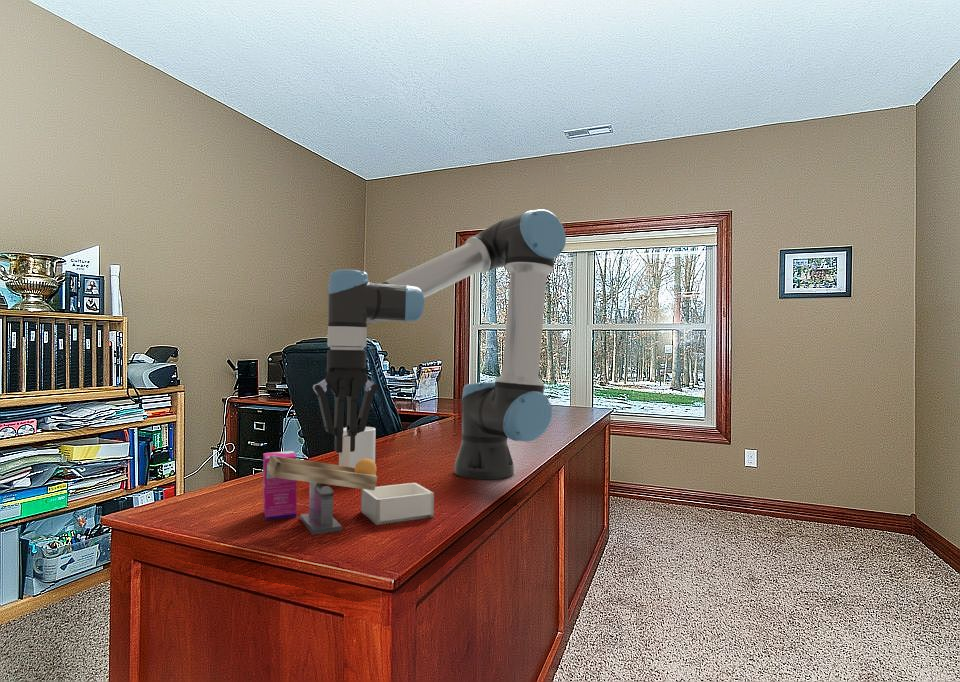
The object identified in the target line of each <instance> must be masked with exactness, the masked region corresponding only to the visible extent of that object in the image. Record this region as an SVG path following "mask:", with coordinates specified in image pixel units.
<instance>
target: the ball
mask: <svg viewBox="0 0 960 682" xmlns="http://www.w3.org/2000/svg"><path fill="white" fill-rule="evenodd" d="M355 473H361V474H368V475H376V474H377V464H376V461H375V462H374V461H373V460H371V459H368V458H364V459H361V460H359V461H358V462H357V464H356V466H355Z"/></svg>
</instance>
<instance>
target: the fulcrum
mask: <svg viewBox="0 0 960 682" xmlns="http://www.w3.org/2000/svg"><path fill="white" fill-rule="evenodd" d="M308 485H309V493H308V494H309V500H308V501H309V502H308V503H309V504H308V505H309V506H308V513H301V514H300V515H299V516H300V518H299V519H300V521H301V522H302V523H303V524H304V526H305V527H306V529H307V530H308V532H309V533H310V534H311V535H312V536H314V535H322V534H328V533H336V532H343V531H342V530H343V526H342V525H341V523H340V522H339V521H338V520H337V519H336V518H335V517H334V495H335V494H334V493H335V492H334V489H333V488H332V487H330V486H329V484H321V483H313V482H308Z"/></svg>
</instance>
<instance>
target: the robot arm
mask: <svg viewBox="0 0 960 682" xmlns="http://www.w3.org/2000/svg"><path fill="white" fill-rule="evenodd" d="M566 240H567V238H566V231H565V228H564V226H563V223H562V222H560V220H559V217H558V216H556V214H555V213H553V212H551V211H549V210H547V209H541V208H540V209H532V210H528V211H525V212H523V213H521V214H517V215H514V216H510V217H507V218H502V219H501V220H499V221H498V222H495V223H493V224H492V225H490V226H488V227H486V229H484V230H482V231H480V232H478V233H477V234H475V235H472V236H469V237H468V238H467V239H466V241H465V243H464V244H462V245H460V246H458V247H456V248H454V249H452V250H450V251H447V252H444V253H442V254H441V255H438V256H437V257H434V258H432V259H430V260H428V261H426V262H424V263H421V264H420V265H417V266H415V267H413V268H410V269H408V270H406V271H403V272H402V273H400V274H397V275H395V276H393V277H391V278H388V279H386V280H384V281H383V282H380V283H375V282H371V281H370V280H369V275H368V273H367V272H366V271H363V270H358V269H344V268H343V269H336V270H334V271H331V273H330V275H329V281H328V289H327V290H328V292H327V295H328V297H327V299H328V302H327V303H328V304H327V311H328V313H327V320H328V321H327V322H328V323H327V342H326V345H327V347H328V348H329V347H330V349H328V350H327V351H326V371H325V374H324V376H323V380H321V381H319V382H318V383H314V384H313V385H312V387H311V388H312V390H313V391H314V393H315V394H316V396H317V400H318V401H317V402H318V405H319V409H320V413H321V418H322V422H323V425H324V431H325V432H326V433H329V434H331V435H333V436H334V447H333V448H334V452H335V453H336V454H338V465H341V466H348V467H350V452H354V450H355V436H356V435H357V433H360V432H363V431H364V430H365V427H367V424H368V419H369V414H370V411H371V409H372V408H371V407H372V404H373V400H374V396H375V394H376V393H377V391H378V389H380V387H379V386H380V385H378V384H377V383H374V382H372V381H371V380H370V379H369V376H368V374H367V370H366V369H367V352H366V350H364V348H366V347H367V335H368V334H367V331H368V330H367V327H368V324H373V323H380V322H381V323H382V322H383V323H384V322H404V323H406V322H417V321H419V320H420V319H421V317H422V315H423V314H424V310H425V298H428V297H429V296H431V295H434V294H435V293H437V292H439V291H441V290H444V289H445V288H448V287H450V286H452V285H454V284H456V283H458V282H460V281H462V280H464V279H466V278H468V277H471V276H472V275H474V274H476V273H480V274H486V273H488V272H490V271H492V270H495V269H498V268H502V267H505V269H506V270H507V272H509V275H510V277H509V286H508V287H509V290H508V300H507V313H506V325H505V337H504V338H505V339H504V347H503V348H504V349H503V361H502V371H501V374H500V375H499V376H498V377H497V378H496V379H495V380H494V381H487V382H472V383H467V384H465V385H464V386H463V388H462V395H461V404H462V405H461V408H462V409H461V444H460V447H459V450H458V453H457V456H456V459H455V462H454V474H455V475H456V476H459V477H461V478H468V479H474V480H499V478H500V479H505V477H506V478H509V477H512V476H514V474H515V473H514V472H515V470H514V469H515V465H514V462H513V458H512V455H511V451H510V447H509V445H508V439H509V440H511V441H515V442H525V443H527V442H532V441H535V440H537V439H539V438H540V437H541V436H542V435H543V434H544V433H545V432H546V431H547V429H548V428H549V426H550V423H551V421H552V417H553V408H552V404H551V402H550V400H549V398H548V397H547V396H546V395H545V394H544V392H545V391H544V389H545V384H544V382H543V381H542V379H540V376H539V375H540V359H541V350H542V349H541V347H542V336H543V322H544V310H545V298H546V289H547V288H546V287H547V286H546V285H547V277H548V276H549V275H550V274H551V273H552V272H553V271H554V265H555V259H556V258H557V257H559V256H560V254H561V253H562V252H564V249H565V247H566ZM327 387H328V388H329V389H330V390H331V392H332V394H333V400H334V409H333V411H334V413H333V416H334V417H333V418H332V414H331V410H330V405H329V401H328V397H327V394H326V392H327V390H328V389H327ZM362 389H364V394H363V396H362V400H361V405H360V409H359V412H358V414H357V410H358V408H357V406H358V405H357V404H358V397H359V396H358V395H359V393H360V392H361V391H362ZM346 400H347V401H346ZM345 401H346V403H347V405H346V407H347V408H346V427H347V434H346V435H343V428H344V424H345V423H344V422H345V421H344V420H345V419H344V418H345V414H344V413H345ZM357 416H358V417H357ZM511 475H512V476H511Z"/></svg>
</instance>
